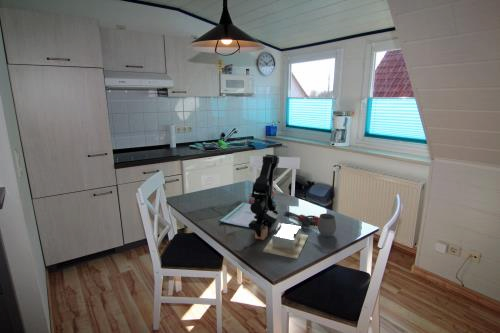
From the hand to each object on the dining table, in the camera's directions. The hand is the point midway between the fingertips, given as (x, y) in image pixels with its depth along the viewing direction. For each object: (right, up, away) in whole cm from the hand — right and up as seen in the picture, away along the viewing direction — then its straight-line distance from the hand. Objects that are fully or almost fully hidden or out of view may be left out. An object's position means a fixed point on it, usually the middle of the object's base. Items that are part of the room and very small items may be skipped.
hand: (261, 234), depth 150 cm
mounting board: (+12, -3, -7) cm, 14 cm away
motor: (+13, -2, -6) cm, 14 cm away
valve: (+25, +4, +19) cm, 32 cm away
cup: (+33, 0, +2) cm, 34 cm away
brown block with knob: (0, -1, 0) cm, 1 cm away
